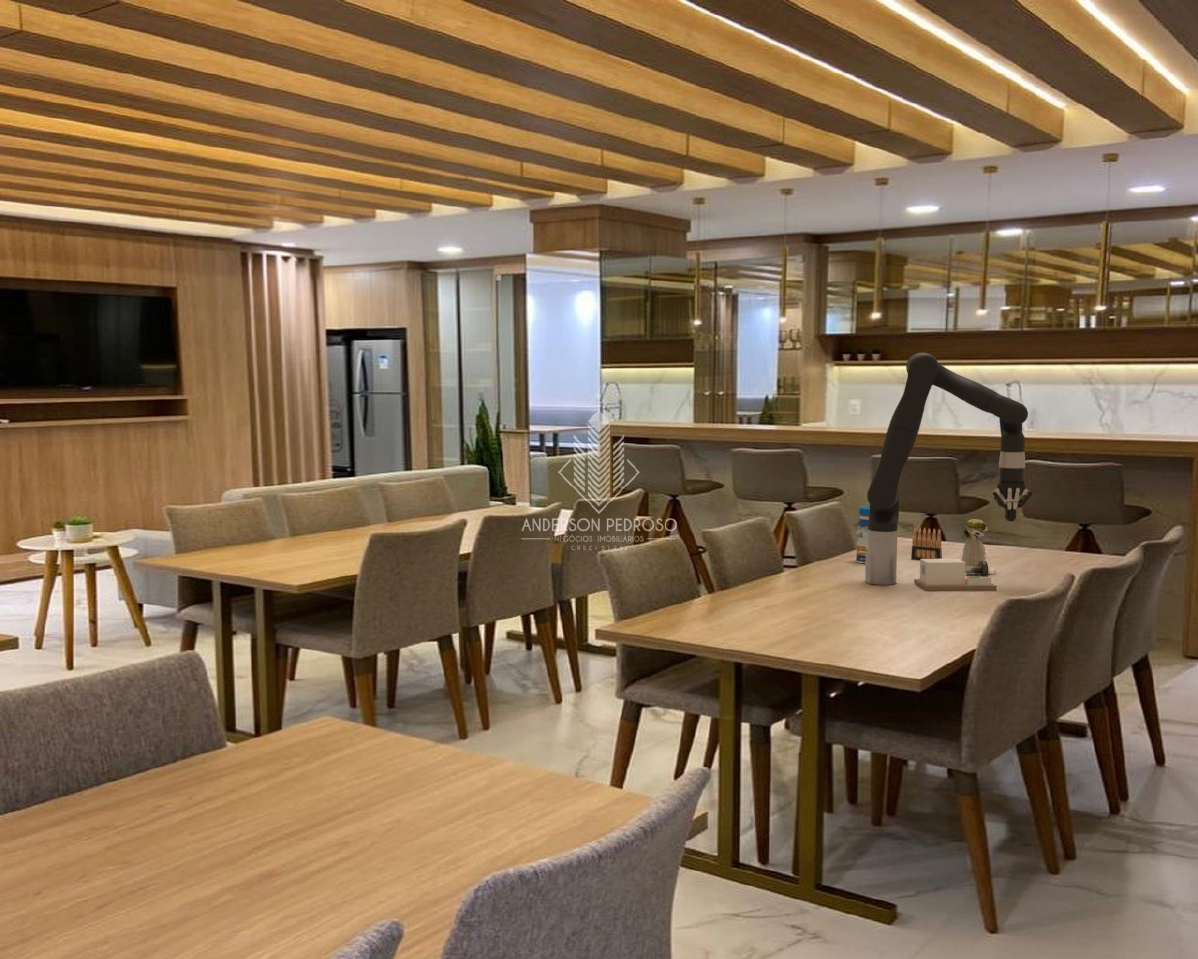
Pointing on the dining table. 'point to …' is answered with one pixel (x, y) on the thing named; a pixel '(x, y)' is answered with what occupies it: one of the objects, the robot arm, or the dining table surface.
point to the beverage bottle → (862, 534)
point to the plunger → (978, 569)
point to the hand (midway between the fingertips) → (1010, 520)
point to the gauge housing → (950, 577)
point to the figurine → (975, 543)
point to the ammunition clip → (926, 545)
